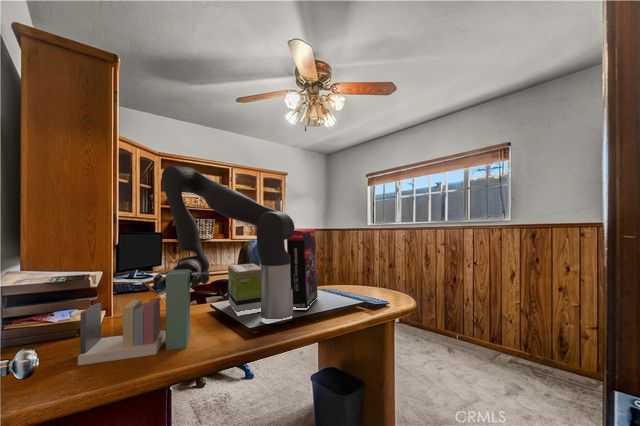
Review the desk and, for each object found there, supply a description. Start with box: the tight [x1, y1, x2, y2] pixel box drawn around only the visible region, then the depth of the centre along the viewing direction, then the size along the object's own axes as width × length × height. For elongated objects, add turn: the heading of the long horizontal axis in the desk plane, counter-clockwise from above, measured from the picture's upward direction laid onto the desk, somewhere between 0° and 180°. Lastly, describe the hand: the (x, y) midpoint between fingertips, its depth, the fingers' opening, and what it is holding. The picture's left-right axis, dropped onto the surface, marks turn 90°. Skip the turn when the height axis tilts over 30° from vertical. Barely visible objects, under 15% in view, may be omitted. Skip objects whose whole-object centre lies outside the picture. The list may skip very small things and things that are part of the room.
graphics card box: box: [286, 228, 319, 308], centre depth 104 cm, size 17×7×27 cm, turn 168°
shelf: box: [77, 297, 166, 366], centre depth 69 cm, size 15×10×11 cm, turn 108°
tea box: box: [227, 263, 261, 312], centre depth 101 cm, size 15×10×15 cm, turn 27°
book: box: [165, 269, 191, 351], centre depth 73 cm, size 4×7×18 cm, turn 18°
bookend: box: [79, 302, 102, 355], centre depth 67 cm, size 1×8×9 cm, turn 18°
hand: (177, 284), depth 72 cm, fingers open, 6 cm apart
